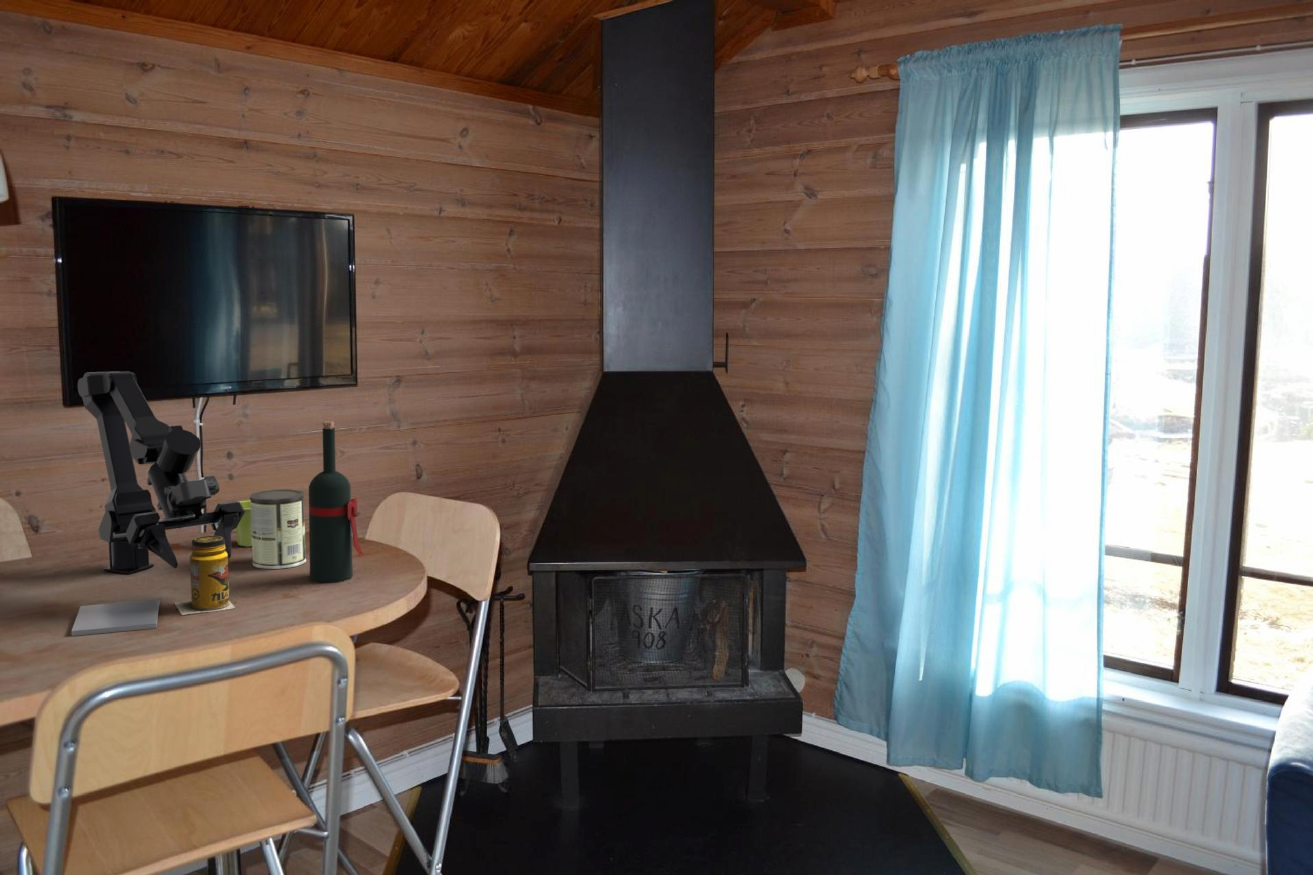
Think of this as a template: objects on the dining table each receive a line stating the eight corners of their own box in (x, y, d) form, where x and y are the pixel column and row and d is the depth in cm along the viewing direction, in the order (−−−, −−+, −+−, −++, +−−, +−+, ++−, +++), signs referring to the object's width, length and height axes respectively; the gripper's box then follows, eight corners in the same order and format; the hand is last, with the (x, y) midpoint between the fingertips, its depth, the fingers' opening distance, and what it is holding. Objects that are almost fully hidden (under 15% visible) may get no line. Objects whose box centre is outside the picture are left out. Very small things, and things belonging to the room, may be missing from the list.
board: (81, 610, 178) (80, 605, 177) (159, 603, 182) (159, 599, 182) (71, 635, 165) (71, 631, 165) (156, 627, 170) (156, 623, 169)
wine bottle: (354, 584, 197) (351, 425, 193) (302, 581, 198) (298, 423, 194) (370, 573, 204) (368, 420, 200) (320, 570, 206) (317, 418, 202)
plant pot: (248, 537, 232) (247, 498, 231) (285, 541, 229) (284, 501, 228) (219, 546, 223) (218, 506, 222) (257, 550, 220) (256, 510, 219)
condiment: (235, 608, 181) (233, 540, 179) (182, 616, 176) (179, 546, 175) (226, 597, 187) (224, 531, 185) (174, 604, 182) (172, 537, 181)
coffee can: (269, 554, 217) (267, 487, 215) (315, 558, 215) (314, 490, 213) (241, 567, 207) (238, 497, 205) (289, 571, 205) (287, 500, 203)
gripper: (129, 467, 175) (160, 543, 169) (238, 456, 189) (269, 526, 183) (113, 507, 181) (142, 581, 175) (219, 493, 195) (249, 562, 189)
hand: (203, 561), depth 181 cm, fingers open, 9 cm apart
